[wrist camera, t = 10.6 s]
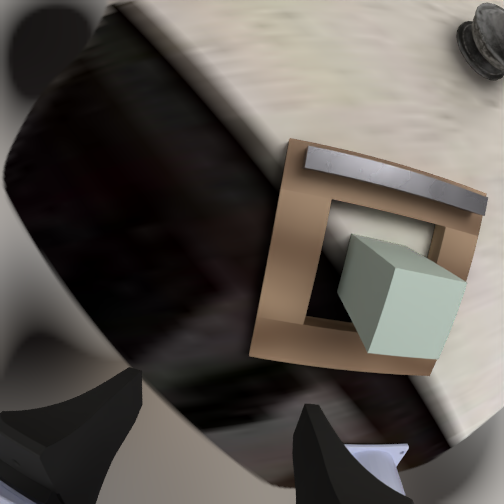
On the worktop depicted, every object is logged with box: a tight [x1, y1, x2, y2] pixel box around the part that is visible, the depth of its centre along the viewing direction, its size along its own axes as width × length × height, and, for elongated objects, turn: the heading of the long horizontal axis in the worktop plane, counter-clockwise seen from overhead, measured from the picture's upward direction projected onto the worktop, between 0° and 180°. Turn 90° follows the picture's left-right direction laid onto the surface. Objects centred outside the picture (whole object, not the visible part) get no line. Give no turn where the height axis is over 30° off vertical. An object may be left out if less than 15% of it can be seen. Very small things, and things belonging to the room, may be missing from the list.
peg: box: [337, 234, 467, 359], centre depth 16 cm, size 4×4×8 cm
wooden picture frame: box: [249, 138, 486, 376], centre depth 19 cm, size 14×14×2 cm
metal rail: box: [302, 146, 488, 216], centre depth 17 cm, size 1×12×2 cm, turn 80°
